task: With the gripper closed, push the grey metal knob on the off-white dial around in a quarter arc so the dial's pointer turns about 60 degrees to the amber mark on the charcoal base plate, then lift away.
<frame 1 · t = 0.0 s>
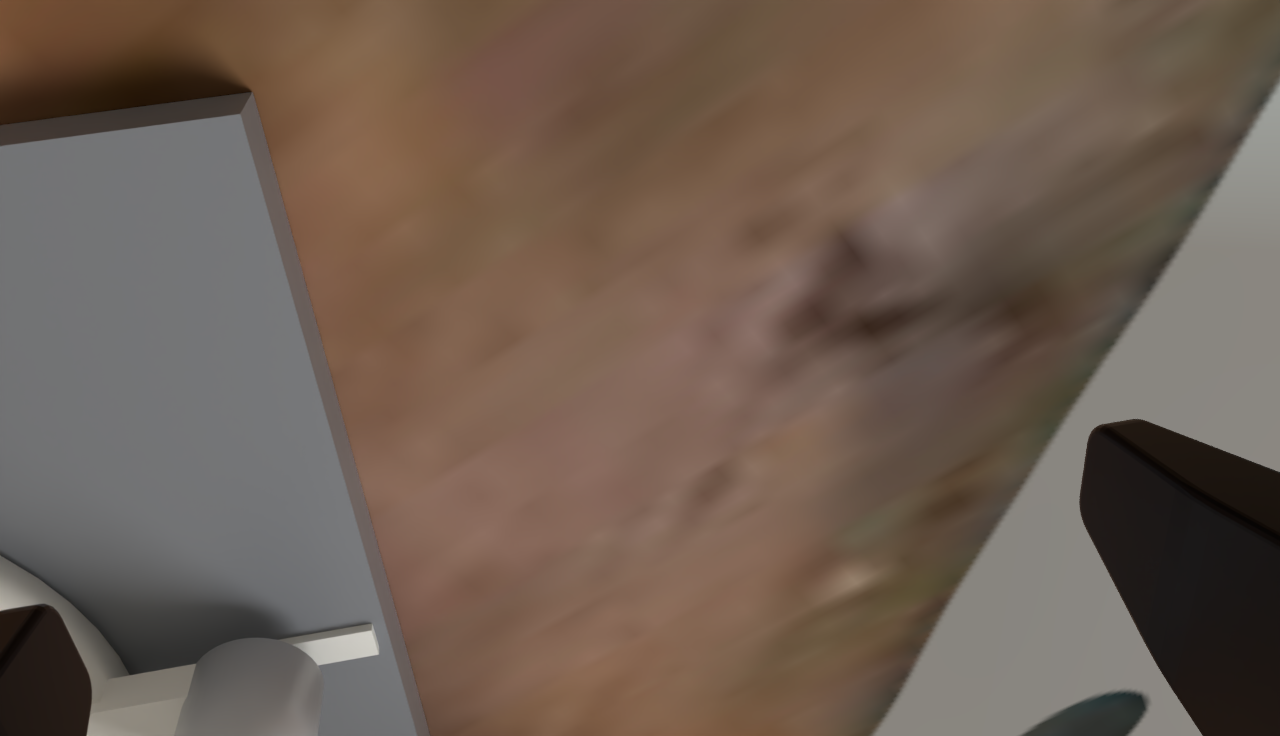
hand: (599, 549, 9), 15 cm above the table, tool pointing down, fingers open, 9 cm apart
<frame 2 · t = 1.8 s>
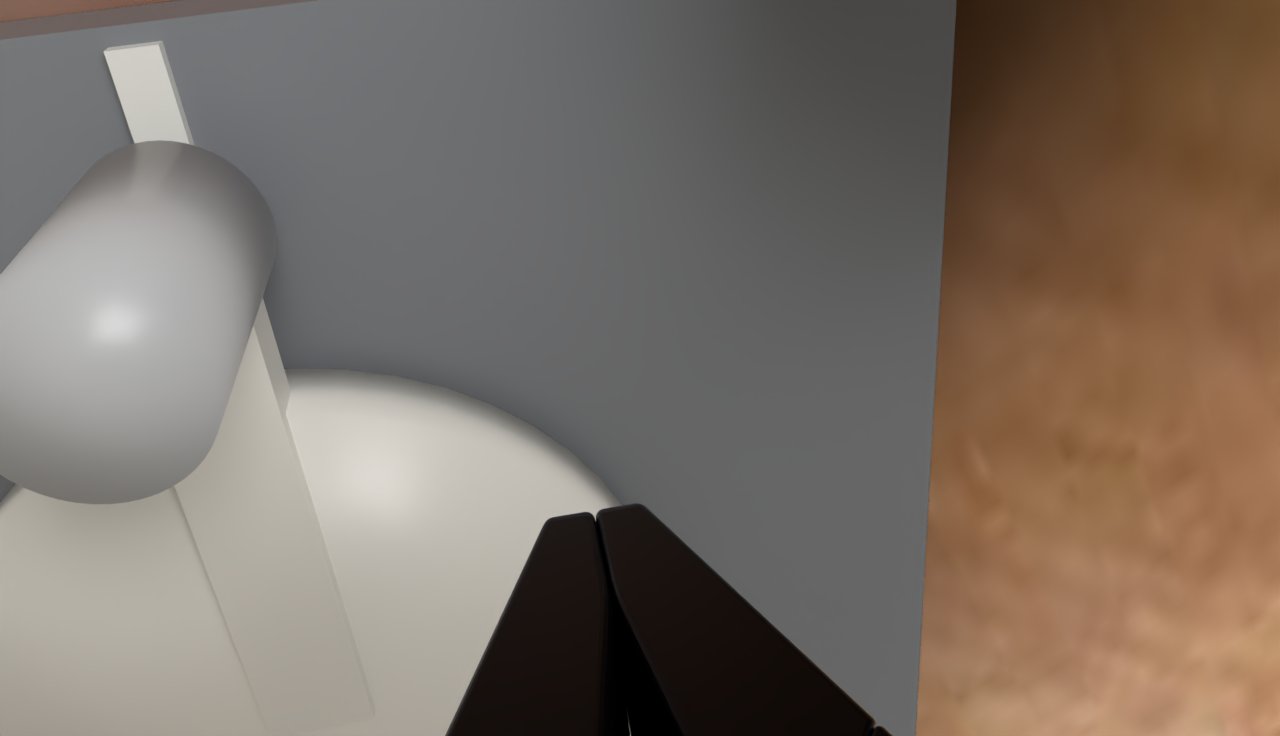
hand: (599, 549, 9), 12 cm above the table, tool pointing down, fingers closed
dial: (285, 687, 19), point 5 cm above the table, hinge at 0.0°
dial plate: (337, 605, 24), on the table
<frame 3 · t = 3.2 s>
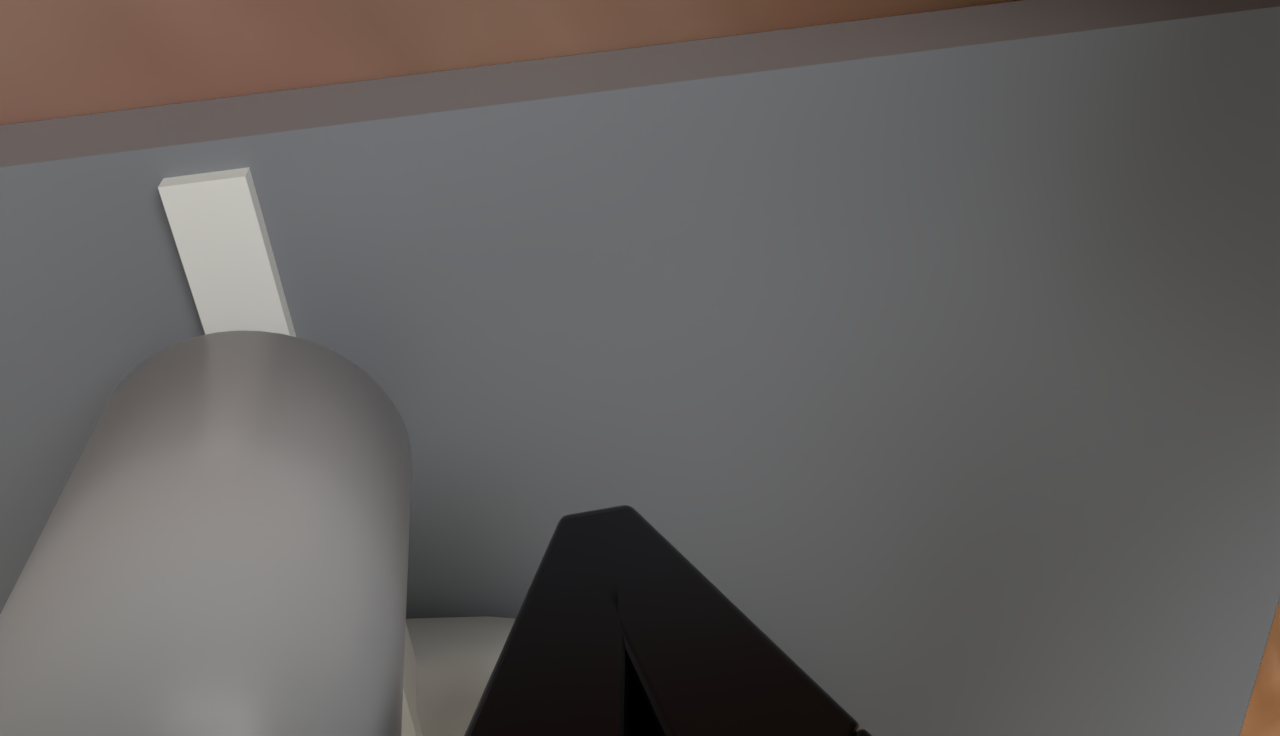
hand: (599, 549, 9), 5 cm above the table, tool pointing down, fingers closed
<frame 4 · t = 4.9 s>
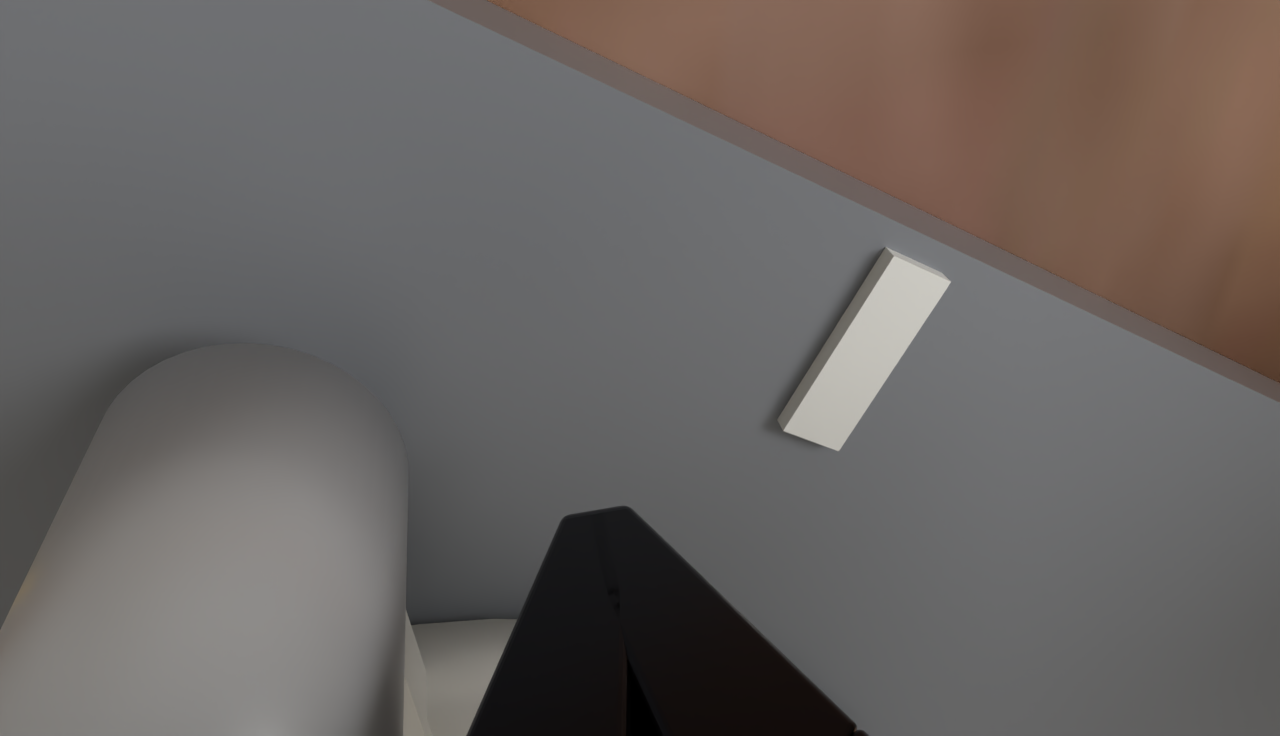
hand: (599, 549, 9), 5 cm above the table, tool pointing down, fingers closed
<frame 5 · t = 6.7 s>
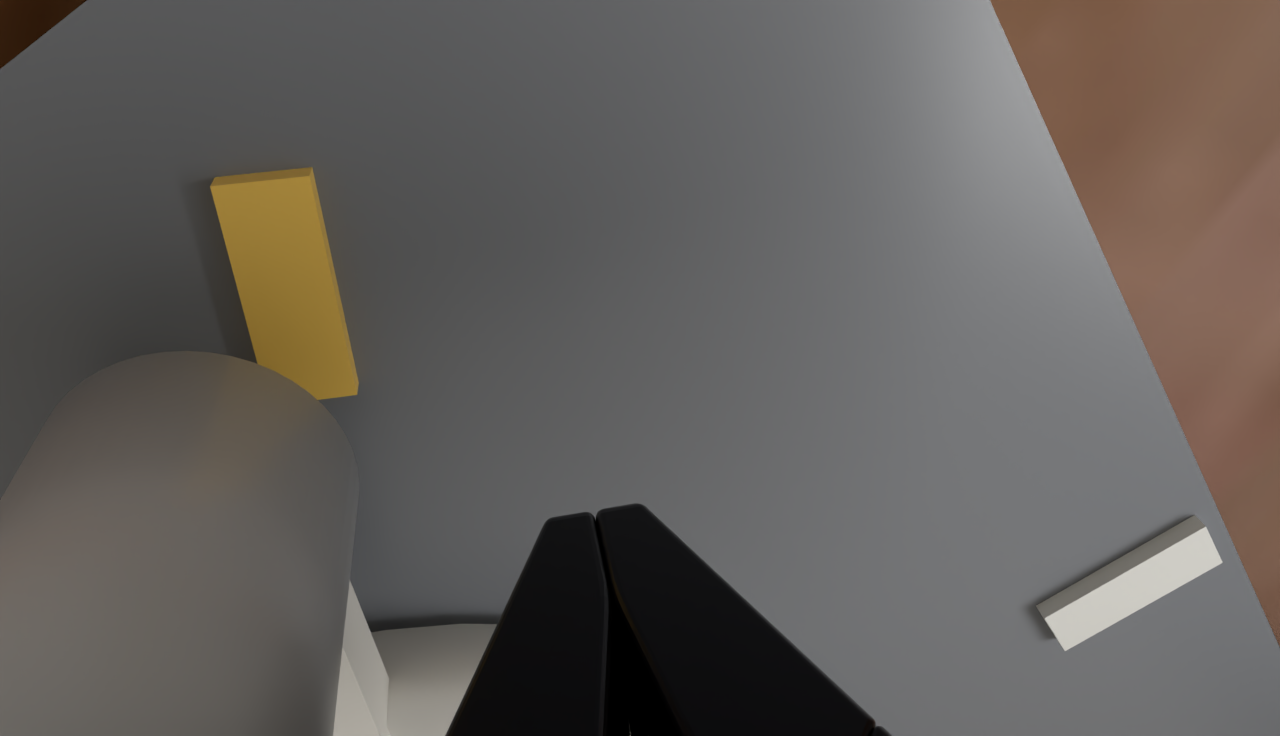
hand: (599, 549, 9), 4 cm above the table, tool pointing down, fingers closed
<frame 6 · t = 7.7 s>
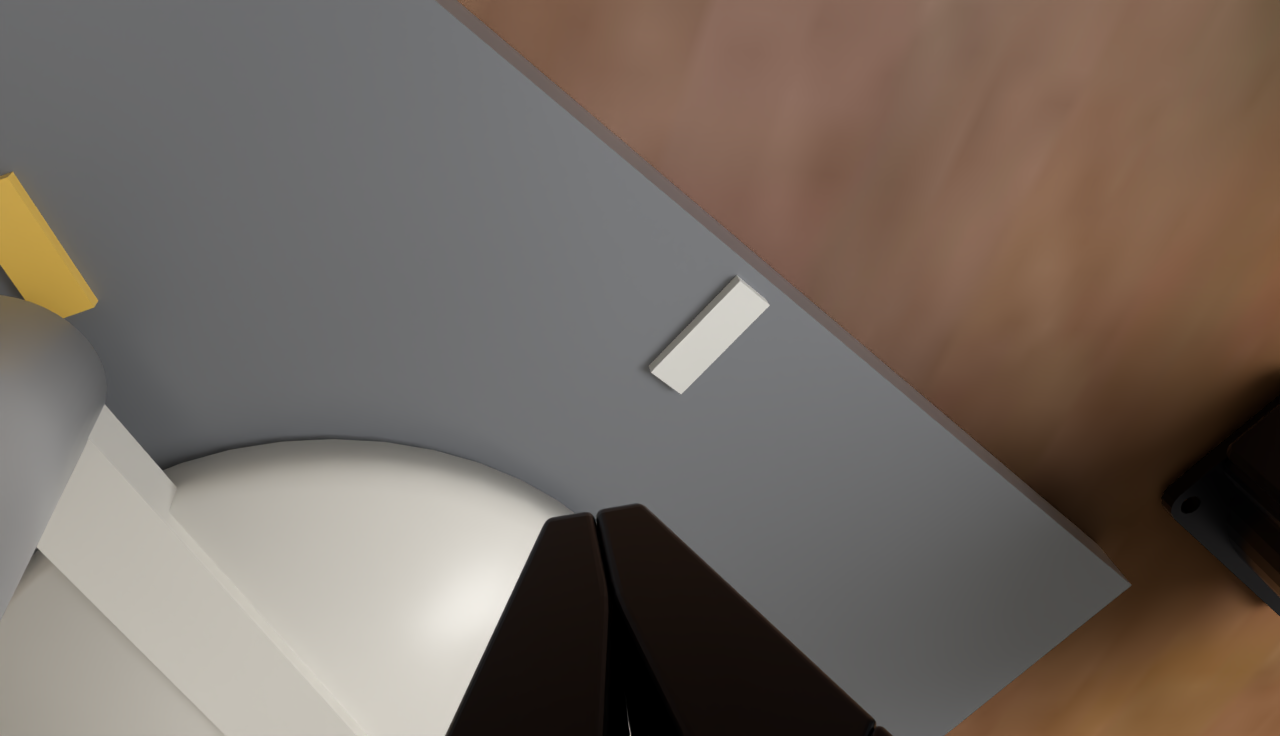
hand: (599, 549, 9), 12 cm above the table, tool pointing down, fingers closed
dial plate: (346, 654, 25), on the table
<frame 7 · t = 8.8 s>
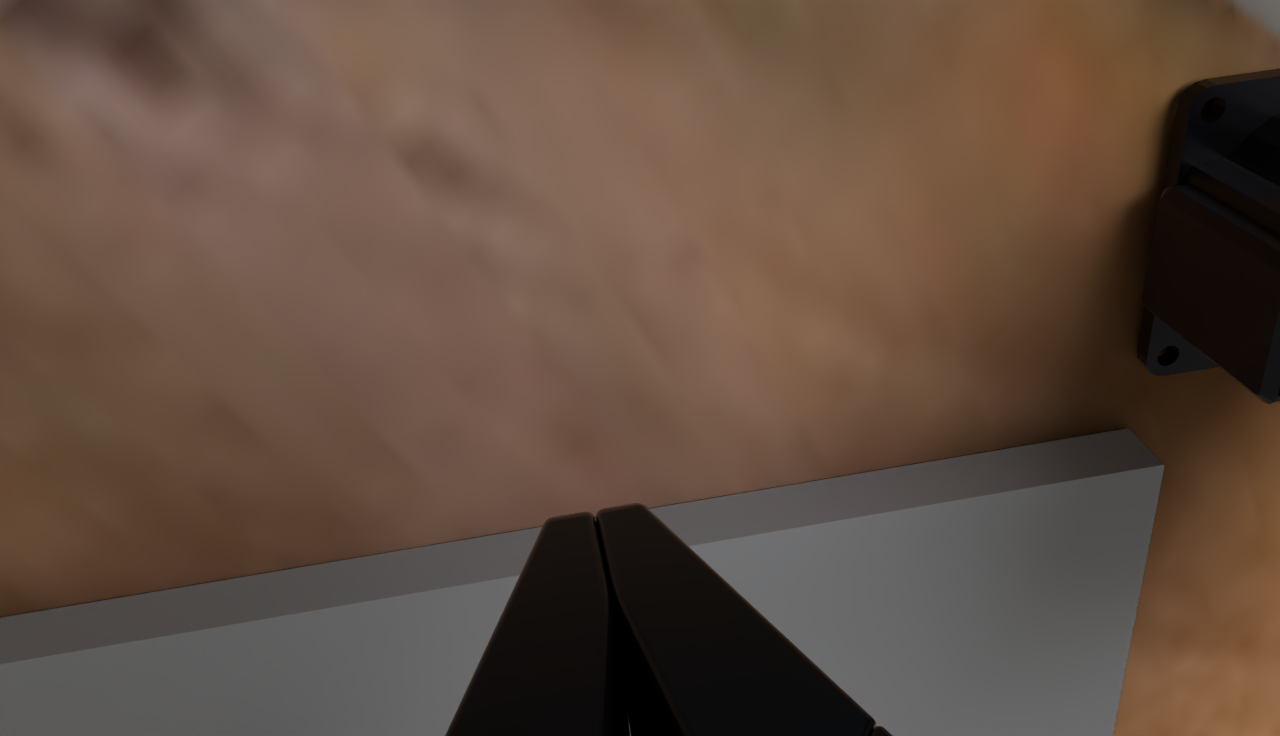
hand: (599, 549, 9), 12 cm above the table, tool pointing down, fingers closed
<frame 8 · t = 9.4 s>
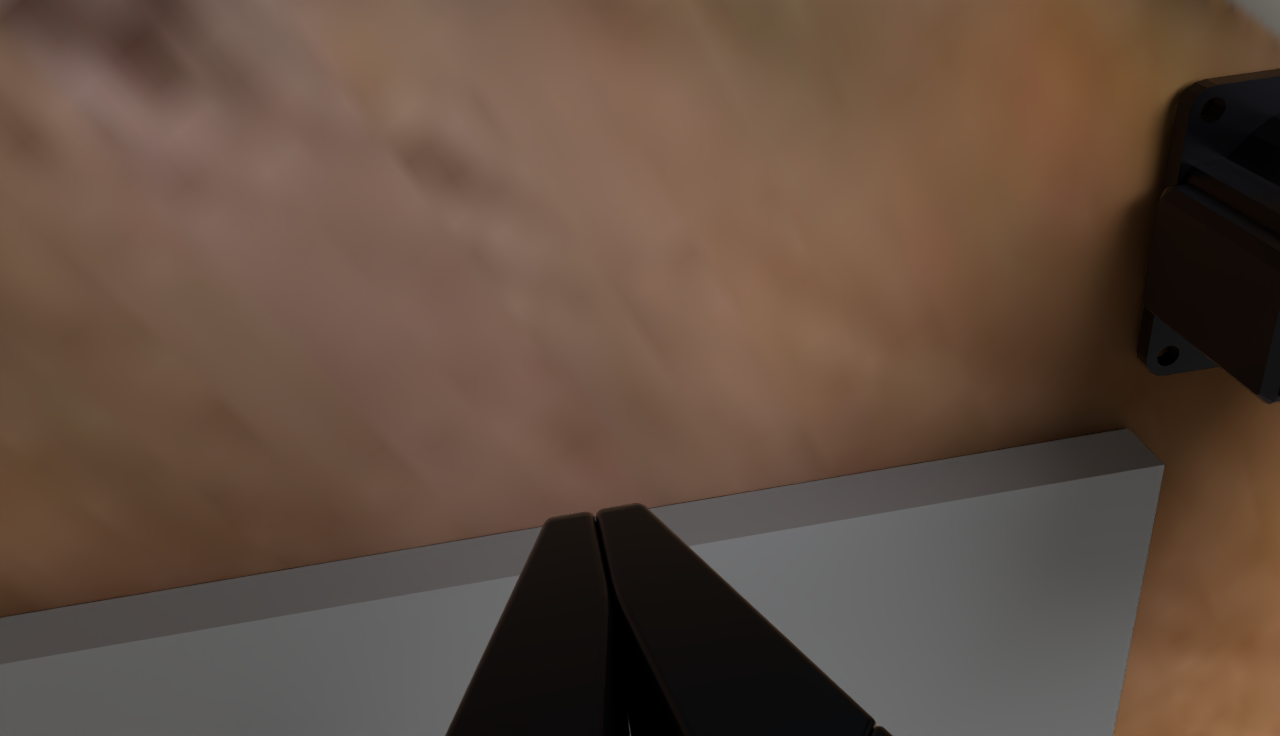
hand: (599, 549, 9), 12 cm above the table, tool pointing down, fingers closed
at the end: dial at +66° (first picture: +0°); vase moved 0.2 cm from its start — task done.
